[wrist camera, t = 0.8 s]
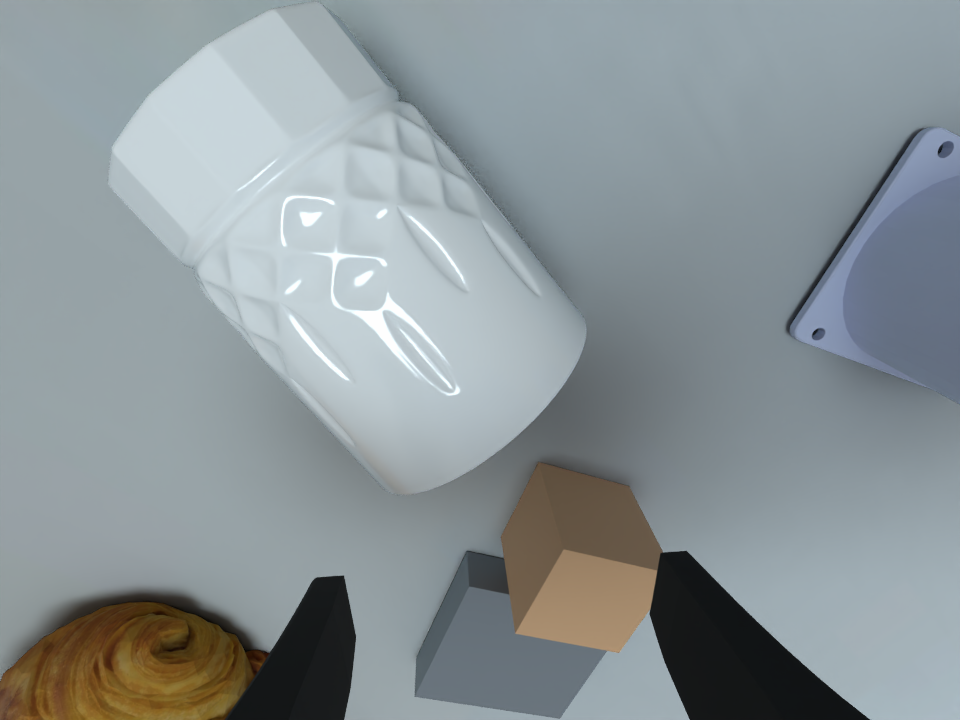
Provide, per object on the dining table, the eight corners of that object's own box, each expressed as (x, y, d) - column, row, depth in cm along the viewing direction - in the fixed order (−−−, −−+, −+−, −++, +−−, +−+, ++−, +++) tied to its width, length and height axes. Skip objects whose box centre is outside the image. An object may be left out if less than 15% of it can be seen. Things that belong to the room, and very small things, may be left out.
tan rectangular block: (628, 485, 23) (674, 574, 18) (585, 555, 25) (618, 652, 20) (538, 461, 22) (563, 549, 17) (500, 536, 24) (514, 633, 19)
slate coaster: (615, 583, 25) (628, 619, 24) (552, 680, 29) (559, 718, 27) (467, 550, 24) (469, 586, 22) (416, 657, 27) (414, 696, 25)
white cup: (402, -37, 13) (610, 275, 16) (262, 146, 18) (442, 356, 21) (140, -9, 7) (544, 465, 10) (43, 248, 12) (336, 513, 15)
